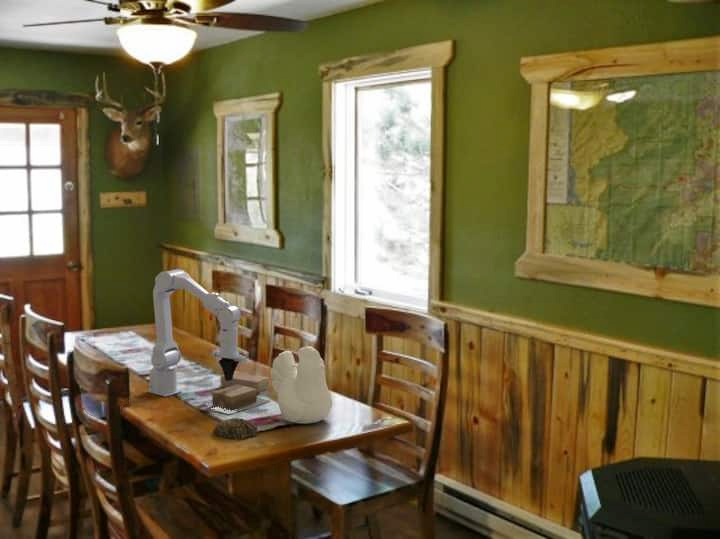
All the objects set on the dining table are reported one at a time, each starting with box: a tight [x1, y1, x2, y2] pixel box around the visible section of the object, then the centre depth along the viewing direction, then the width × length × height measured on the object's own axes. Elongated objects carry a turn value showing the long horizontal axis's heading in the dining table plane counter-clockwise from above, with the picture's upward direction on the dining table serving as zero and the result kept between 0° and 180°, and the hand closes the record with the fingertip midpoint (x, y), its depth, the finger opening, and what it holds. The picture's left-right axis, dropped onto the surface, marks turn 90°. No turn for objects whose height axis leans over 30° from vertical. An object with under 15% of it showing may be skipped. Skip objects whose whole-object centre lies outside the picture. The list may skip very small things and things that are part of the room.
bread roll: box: [212, 417, 259, 440], centre depth 237 cm, size 13×12×5 cm
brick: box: [220, 370, 270, 393], centre depth 287 cm, size 17×8×5 cm, turn 66°
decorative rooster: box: [270, 345, 333, 424], centre depth 252 cm, size 25×16×25 cm, turn 33°
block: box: [211, 384, 258, 410], centre depth 266 cm, size 4×12×9 cm
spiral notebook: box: [206, 397, 271, 412], centre depth 265 cm, size 11×20×1 cm, turn 145°
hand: (228, 380), depth 267 cm, fingers closed
